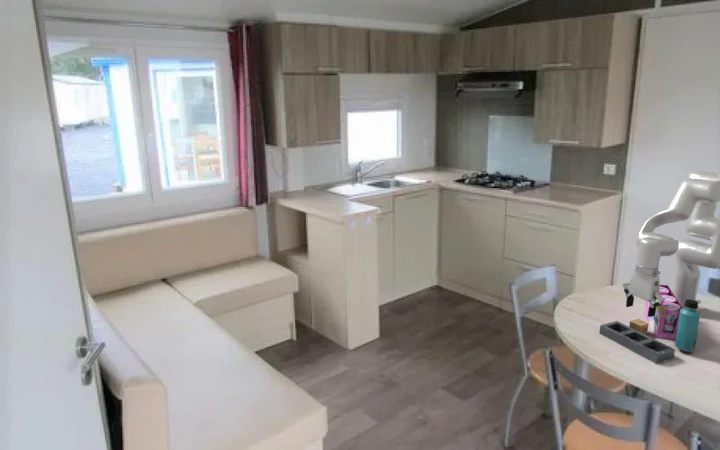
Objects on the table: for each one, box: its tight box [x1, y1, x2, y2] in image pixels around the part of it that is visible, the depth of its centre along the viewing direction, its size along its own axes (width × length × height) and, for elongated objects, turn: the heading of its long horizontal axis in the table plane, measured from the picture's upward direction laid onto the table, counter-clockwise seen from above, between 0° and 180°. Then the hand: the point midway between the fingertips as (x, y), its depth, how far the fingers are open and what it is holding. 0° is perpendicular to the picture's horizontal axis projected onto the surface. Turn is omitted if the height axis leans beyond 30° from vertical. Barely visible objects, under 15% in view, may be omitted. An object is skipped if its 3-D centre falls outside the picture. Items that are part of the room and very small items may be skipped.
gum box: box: [643, 284, 683, 340], centre depth 210 cm, size 24×8×14 cm, turn 163°
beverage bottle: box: [674, 299, 701, 352], centre depth 190 cm, size 6×7×20 cm
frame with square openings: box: [599, 320, 676, 365], centre depth 197 cm, size 9×25×4 cm, turn 24°
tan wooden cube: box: [628, 318, 650, 335], centre depth 207 cm, size 5×5×5 cm
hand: (639, 311), depth 204 cm, fingers open, 9 cm apart
